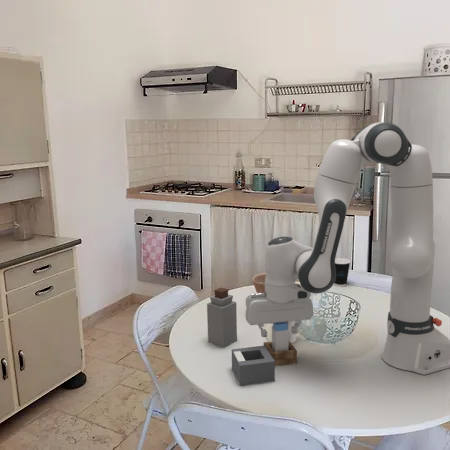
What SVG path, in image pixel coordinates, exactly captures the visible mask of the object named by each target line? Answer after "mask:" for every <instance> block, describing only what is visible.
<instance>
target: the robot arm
mask: <svg viewBox="0 0 450 450" xmlns="http://www.w3.org/2000/svg"><path fill="white" fill-rule="evenodd" d="M409 140H410V139H408V138H407V136H406V134H405V132H404V131H403V130H402V128H401V127H399V126H398V125H396V124H394V123H391V122H385V121H384V122H383V121H381V122H379V121H378V122H374V123H371V124H369V125H366V126H364V127H362V129H360V131H358V133H357V134H356V135H354V136H353V137H352V138H351V139H343V138H342V139H337V140H334V141H332V143H330V145H329V146H328V148H327V150H326V152H325V154H324V156H323V158H322V160H321V164H320V166H319V169H318V172H317V175H316V179H315V181H314V182H315V183H314V190H313V199H314V202H315V206H316V209H317V212H318V213H317V214H318V228H317V232H316V235H315V239H314V243H313V246H308V245H305V244H303V243H300V242H298V241H296V240H295V239H294V238H293V237H291V236H278V237H276V238H275V237H274V238H273V239H271V240H270V241H269V242H268V243H267V246H266V249H265V255H264V256H265V257H264V258H265V260H264V261H265V262H264V269H265V274H266V278H265V292H264V293H257V292H256V293H255V292H254V293H253V292H252V293H250V295H248V296H247V297H246V298H245V306H246V309H245V320H246V322H247V323H248V324H249V325H250V326H255V325H256V326H258V328H259V330H260V336H261V337H262V338H266V337H268V330H267V329H266V328H265V329H263V328H264V327H265V325H266V324H267V325H268V324H273V323H278V322H288V321H295V324H294V326H293V327H291V333H292V334H296V335H297V334H298V329H299V327H300V326H301V324H302V321H304V320H305V321H306V320H311V319H312V318H313V317H314V304H313V300H312V299H311V295H312V294H322V293H326V292H327V291H329V290H330V289H331V288H332V286H334V285H335V283H334V282H335V280H336V268H335V259H336V258H337V257H336V256H337V252H338V248H339V244H340V240H341V236H342V232H343V229H344V224H345V219H346V216H347V213H348V209H349V207H350V203H351V201H352V198H353V195H354V192H355V189H356V186H357V183H358V179H359V175H360V174H361V171H362V169H363V168H364V166H366V165H367V164H369V163H373V164H381V165H386V166H387V167H388V170H389V171H388V172H389V175H390V207H391V220H390V262H391V266H392V269H393V270H392V277H391V286H390V302H389V311H388V314H387V322H386V323H387V327H386V328H387V335H386V341H385V344H384V347H383V351H382V353H381V358H382V360H383V361H384V363H386V364H388V365H390V366H392V367H393V368H397V369H399V370H404V371H410V372H414V373H417V374H420V375H428V374H432V373H436V372H439V371H442V370H446V369H450V339H449V337H448V336H447V335H445V334H444V333H442V332H441V331H440V330H439V329H437V328H436V327H441V326H442V325H443V321H442V319H439V318H438V317H434V316H432V315H431V302H432V290H433V289H432V287H433V277H434V268H435V267H434V264H435V255H436V254H435V253H436V243H435V241H434V186H433V185H434V184H433V182H434V181H433V170H432V163H431V159H430V154H429V151H428V150H427V148H426V147H424V146H422V145H419V144H413V143H411V142H410V141H409ZM298 280H299V281H298ZM296 281H298V282H299V283H296ZM435 326H436V327H435Z"/></svg>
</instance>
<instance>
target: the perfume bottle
mask: <svg viewBox="0 0 450 450" xmlns="http://www.w3.org/2000/svg"><path fill="white" fill-rule="evenodd" d="M213 290H214V291H213V293H214V295H211V296H209V299H210V302H208V303H206V311H207V312H206V314H207V315H206V316H207V321H206V322H207V343H208V344H211V345H214V346H217V347H219V348H223V349H226V348H227V347H229V346H230V345H232V344H233V343H235V342H237V341H238V333H237V332H238V329H237V328H238V324H237V323H238V322H237V321H238V320H237V318H238V317H237V302H236V301H233V299H234V298H233V297H234V295H233V294H229V288H224V287H218V288H216V289H213Z"/></svg>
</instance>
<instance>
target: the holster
mask: <svg viewBox="0 0 450 450" xmlns="http://www.w3.org/2000/svg"><path fill="white" fill-rule="evenodd" d="M264 345H265V347H266V349H267V350H268V352H269V353H270V355H271V356H272V358H273V359H274V361H275V367H281V366H285V365H293V364H295V365H296V364H298V350H297V349H296V347H295V346H294V345H293V343H291V342H290V341H289V350H285V351H277V352H274V351H273V350H272V340H271V341H263V346H264Z"/></svg>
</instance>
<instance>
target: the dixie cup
mask: <svg viewBox="0 0 450 450" xmlns="http://www.w3.org/2000/svg"><path fill="white" fill-rule="evenodd" d="M350 263H352V262H351V260H350V259H348V258H342V257H341V258H339V257H335V268H336V280H335V282H334V286H335V287H337V288H344V287H346V286H347V284H348V277H349V273H350V272H349V271H350Z"/></svg>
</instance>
